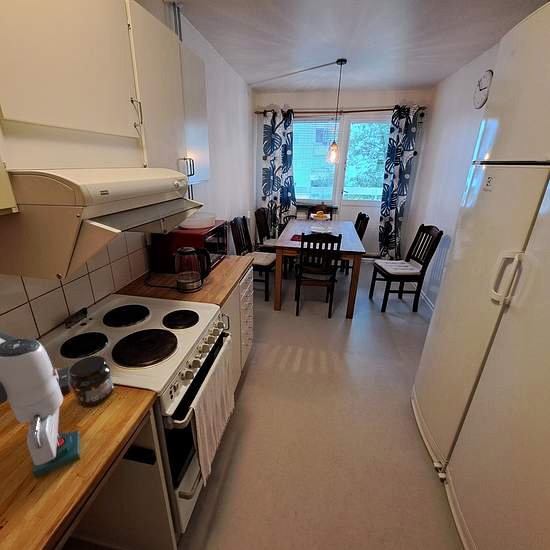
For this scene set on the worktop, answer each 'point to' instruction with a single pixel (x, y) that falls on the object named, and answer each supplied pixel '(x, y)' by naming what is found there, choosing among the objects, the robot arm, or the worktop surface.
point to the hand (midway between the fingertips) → (54, 443)
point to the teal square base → (61, 454)
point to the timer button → (60, 443)
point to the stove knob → (55, 373)
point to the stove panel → (64, 380)
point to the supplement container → (91, 381)
